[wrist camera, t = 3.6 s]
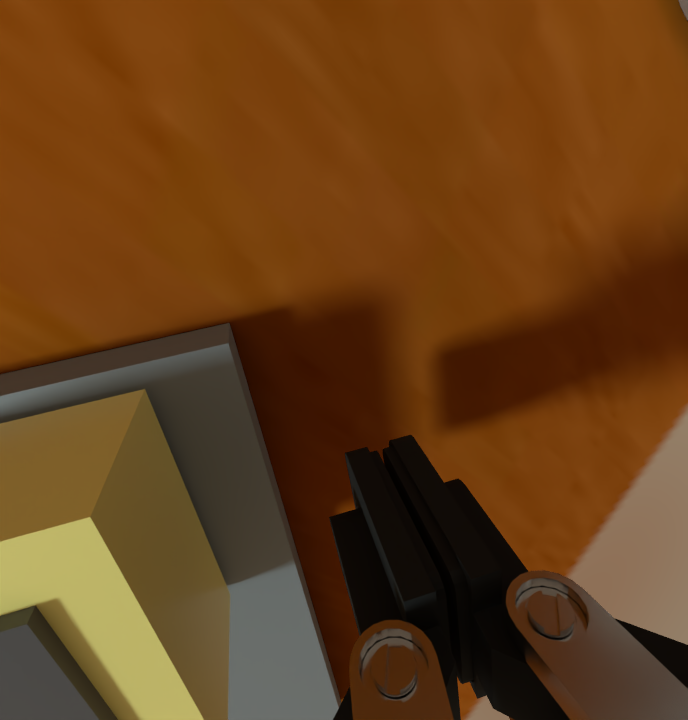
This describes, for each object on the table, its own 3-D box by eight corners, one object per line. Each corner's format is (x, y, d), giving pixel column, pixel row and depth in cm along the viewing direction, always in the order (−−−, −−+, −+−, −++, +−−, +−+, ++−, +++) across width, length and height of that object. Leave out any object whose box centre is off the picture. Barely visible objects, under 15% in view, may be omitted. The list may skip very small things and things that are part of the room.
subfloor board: (229, 322, 11) (228, 343, 10) (340, 700, 19) (348, 740, 18) (-702, 532, 9) (-873, 598, 7) (-138, 870, 16) (-171, 932, 15)
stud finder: (144, 389, 10) (83, 533, 6) (230, 594, 13) (227, 778, 9) (-101, 447, 9) (-354, 655, 5) (50, 649, 12) (-38, 875, 8)
